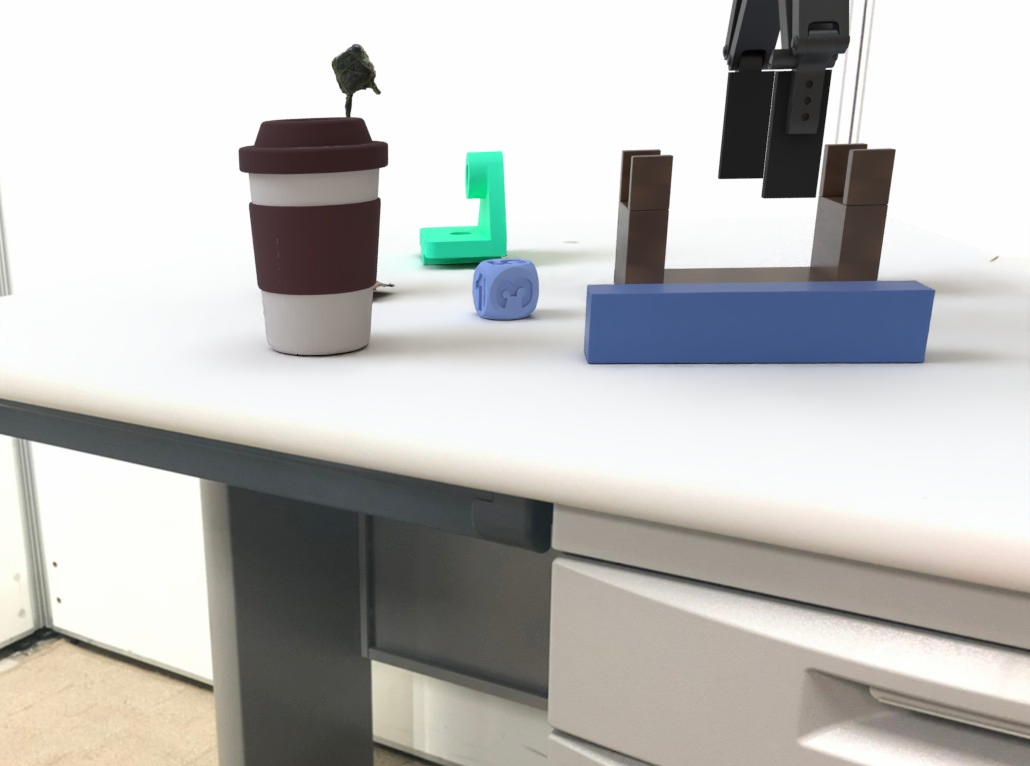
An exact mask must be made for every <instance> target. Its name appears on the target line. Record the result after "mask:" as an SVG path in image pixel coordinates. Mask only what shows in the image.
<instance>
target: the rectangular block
mask: <svg viewBox="0 0 1030 766" xmlns="http://www.w3.org/2000/svg"><path fill="white" fill-rule="evenodd" d="M935 296H936V289H934V288H933V287H930V286H928V285H925V284H924V283H922V282H919V281H917V280H916V279H915V280H913V279H912V280H877V281H832V282H754V283H675V284H614V283H608V284H607V283H606V284H605V283H604V284H600V283H599V284H587V285H586V297H585V298H586V301H585V315H584V316H585V319H584V335H583V353H584V356H585V359H586V361H587V363H588V364H822V363H824V364H825V363H826V364H827V363H828V364H829V363H830V364H831V363H832V364H839V363H840V364H844V363H845V364H847V363H850V364H853V363H854V364H855V363H856V364H857V363H859V364H861V363H863V364H864V363H865V364H868V363H869V364H870V363H874V364H875V363H877V364H878V363H884V364H885V363H887V364H889V363H924V362H925V358H926V353H927V352H926V351H927V346H928V338H929V333H930V327H931V321H932V314H933V307H934V302H935Z"/></svg>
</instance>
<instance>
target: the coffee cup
mask: <svg viewBox="0 0 1030 766" xmlns="http://www.w3.org/2000/svg"><path fill="white" fill-rule="evenodd" d="M388 165H389V143H388V142H386V141H381V140H373V138H372V136H371V134H370V131H369V129H368V126H367V124H366V122H365V119H363V118H362V117H355V116H351V117H346V116H331V117H305V118H304V117H303V118H302V117H301V118H284V119H272V120H265V121H262V122H261V123H260V125H259V128H258V132H257V134H256V138H255V141H254V144H251V145H246V146H245V145H244V146H241V147H239V148H238V167H239V171H240V172H241V173H245V174H247V175H248V182H249V191H250V199H251V201H250V202H249V203H248V213H249V221H250V231H251V239H252V248H253V257H254V265H255V273H256V275H255V276H256V282H257V287H258V289H259V290H261V300H262V301H261V302H262V310H263V318H264V319H263V321H264V327H265V328H264V329H265V337H266V338H265V339H266V343H267V345H268V347H269V348H270V349H272V350H274V351H275V352H279V353H282V354H289V355H297V354H298V355H299V356H326V355H337V354H344V353H349V352H353V351H357V350H360V349H363V348H364V347H365V346H367V345H368V344H369V342H370V340H371V334H372V333H371V332H372V315H373V314H372V313H373V296H374V291H373V286H374V285H375V284H376V280H377V278H378V263H379V262H378V260H379V247H380V246H379V243H380V227H381V226H380V225H381V208H382V199H381V198H380V197H379V181H380V169H383V168H386V167H388ZM377 281H378V280H377ZM298 355H297V356H298Z"/></svg>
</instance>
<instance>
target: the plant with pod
mask: <svg viewBox="0 0 1030 766" xmlns="http://www.w3.org/2000/svg"><path fill="white" fill-rule="evenodd" d="M331 68H332V70H333V73H334V75H335V79H336V80H335V81H336V82H337V84H338V88H339V90H340V92H341V93H342V94H345V96H346V97H345V102H344V103H345V104H344V110H345V117H352V116H351V115H352V108H353V96H354V94H355V93H357V92H359V91H366V90H367V89H372V92H373V93H375V95H378V96H380V95H381V94H382V91H381V90H380V89H379V87H378V86H377V83H375V79H376V77H377V71H376V70H375V65H374V64H373V62H371V60H370V57H369V55H368V53H367V51H366V50H365V49H364V47H363V46H362V45H361V44H359V43H353V44H352V45H351V46H350V47H348V48H346V49H345V50H344V51H342V52H341V53H339V54H338V55H337V56H335V57H334V58H333V59H332V60H331ZM379 287H383V288H393V287H395V284H394V283H391V282H389V284H387V283H383V282H380V281H378V280H376V284H375V285H374V286H373V292H377V291H378V290H377V289H378V288H379Z"/></svg>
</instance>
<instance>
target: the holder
mask: <svg viewBox="0 0 1030 766" xmlns="http://www.w3.org/2000/svg"><path fill="white" fill-rule="evenodd" d="M868 146H869V145H868V143H864V142H856V143H855V142H854V143H853V142H852V143H826V144H824V148H823V157H822V165H821V173H820V181H819V190H818V197H817V207H816V214H815V222H814V230H813V238H812V239H813V240H812V248H811V257H810V264H809V266H764V267H763V266H761V267H760V266H759V267H758V266H757V267H698V268H697V267H696V268H694V267H693V268H691V267H690V268H687V267H686V268H666V257H667V244H668V243H667V242H668V231H669V230H668V228H669V217H670V205H671V204H670V203H671V193H672V192H671V191H672V180H673V179H672V178H673V165H674V163H673V162H674V155H672V154H662V150H661V149H659V148H655V149H652V148H651V149H623V150H621V158H620V177H619V191H618V192H619V193H618V207H617V225H616V240H615V242H616V243H615V257H614V270H613V284H675V283H754V282H832V281H879V280H878V278H879V274H880V273H879V271H880V266H881V265H880V264H881V257H882V251H883V245H884V237H885V230H886V223H887V216H888V209H889V201H890V193H891V186H892V180H893V174H894V173H893V172H894V166H895V159H896V152H897V150H896V149H895V148H891V147H889V148H887V147H886V148H885V147H884V148H868Z"/></svg>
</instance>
